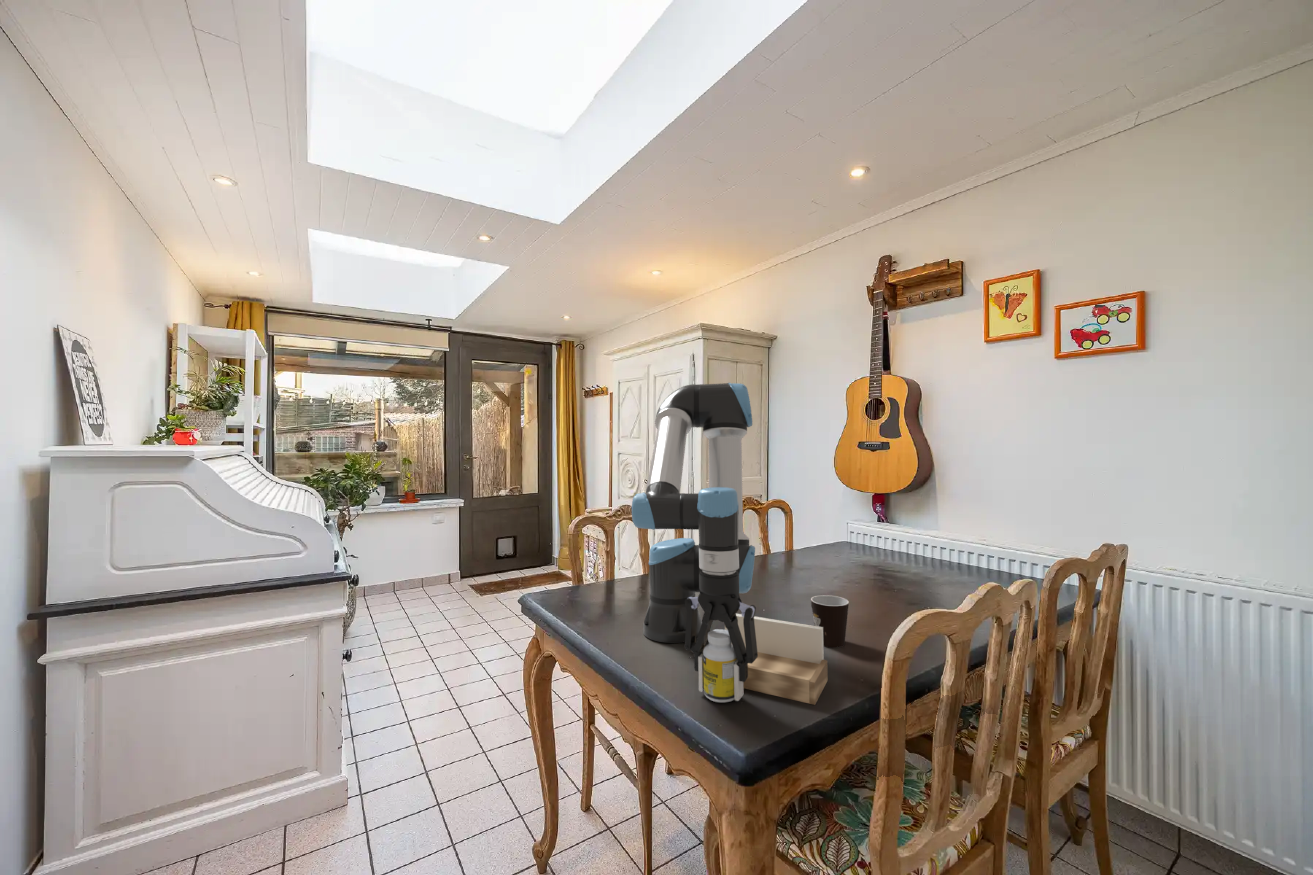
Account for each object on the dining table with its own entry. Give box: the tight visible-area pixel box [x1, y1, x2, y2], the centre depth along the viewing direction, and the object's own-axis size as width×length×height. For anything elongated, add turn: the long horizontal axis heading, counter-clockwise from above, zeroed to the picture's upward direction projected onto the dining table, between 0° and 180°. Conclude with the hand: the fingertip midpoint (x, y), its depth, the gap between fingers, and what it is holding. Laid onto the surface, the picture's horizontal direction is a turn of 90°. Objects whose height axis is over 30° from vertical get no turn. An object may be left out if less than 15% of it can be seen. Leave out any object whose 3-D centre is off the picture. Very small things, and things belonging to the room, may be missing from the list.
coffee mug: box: [810, 594, 850, 649], centre depth 124 cm, size 12×9×10 cm
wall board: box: [724, 613, 825, 664], centre depth 109 cm, size 21×2×10 cm, turn 60°
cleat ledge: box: [743, 652, 829, 706], centre depth 104 cm, size 22×11×4 cm, turn 60°
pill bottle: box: [703, 628, 737, 703], centre depth 97 cm, size 6×6×12 cm
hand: (720, 692), depth 97 cm, fingers closed on pill bottle, 6 cm apart
